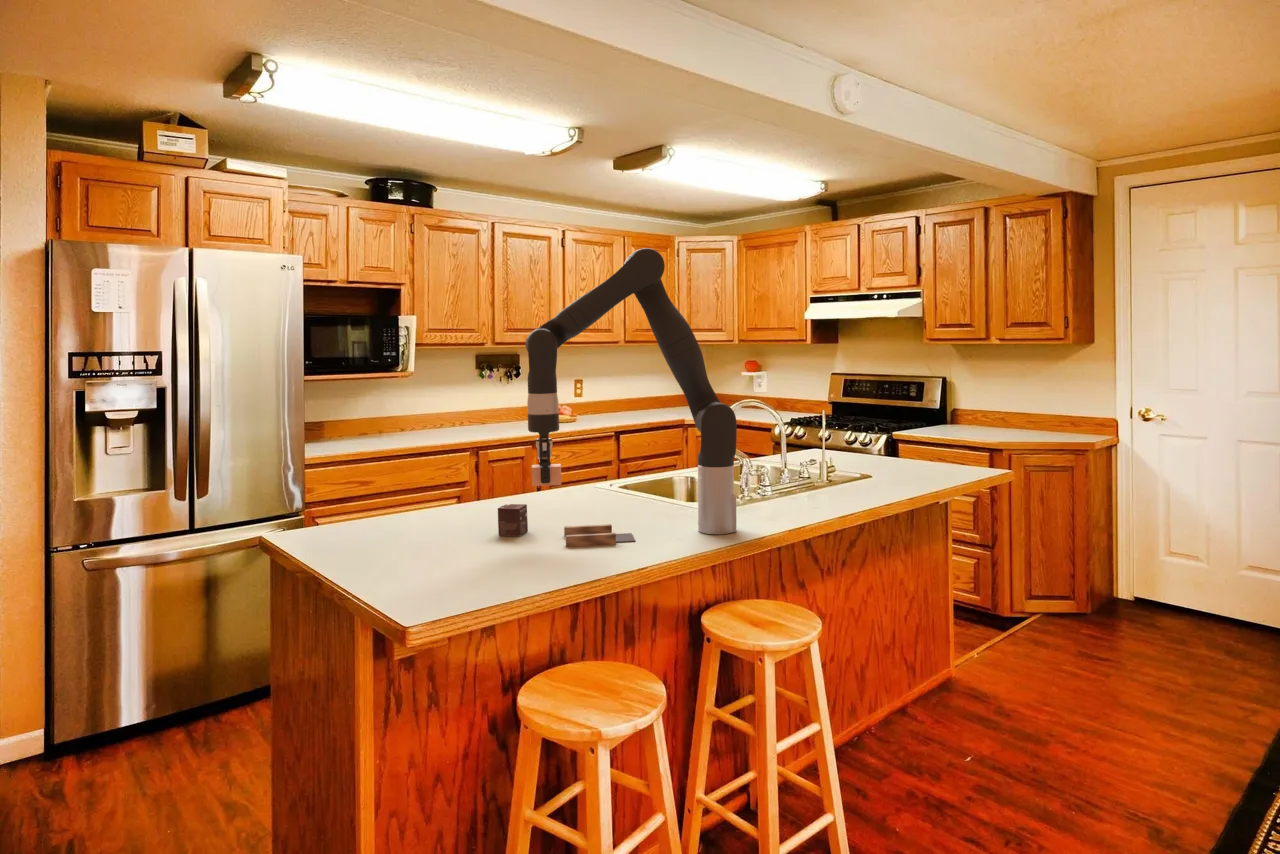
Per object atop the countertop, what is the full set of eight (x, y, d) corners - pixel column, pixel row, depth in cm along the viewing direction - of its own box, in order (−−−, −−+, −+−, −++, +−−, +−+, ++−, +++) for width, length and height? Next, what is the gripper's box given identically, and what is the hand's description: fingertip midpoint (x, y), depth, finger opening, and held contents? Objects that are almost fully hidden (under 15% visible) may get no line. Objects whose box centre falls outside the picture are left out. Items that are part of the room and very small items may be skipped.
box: (520, 537, 193) (519, 508, 192) (497, 536, 194) (496, 508, 193) (528, 531, 199) (527, 504, 198) (506, 531, 200) (505, 503, 199)
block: (561, 481, 188) (560, 463, 188) (561, 485, 183) (560, 466, 183) (533, 482, 187) (532, 464, 187) (532, 486, 182) (531, 467, 182)
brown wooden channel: (611, 533, 194) (611, 524, 194) (615, 544, 183) (615, 534, 183) (564, 536, 193) (564, 526, 192) (566, 546, 182) (565, 536, 182)
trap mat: (631, 534, 193) (631, 533, 193) (635, 541, 186) (635, 540, 186) (611, 535, 193) (611, 534, 193) (615, 542, 185) (615, 541, 185)
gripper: (559, 413, 177) (561, 485, 179) (557, 409, 191) (559, 476, 193) (527, 414, 176) (529, 486, 178) (527, 410, 190) (530, 477, 192)
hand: (545, 480), depth 185 cm, fingers closed on block, 5 cm apart
